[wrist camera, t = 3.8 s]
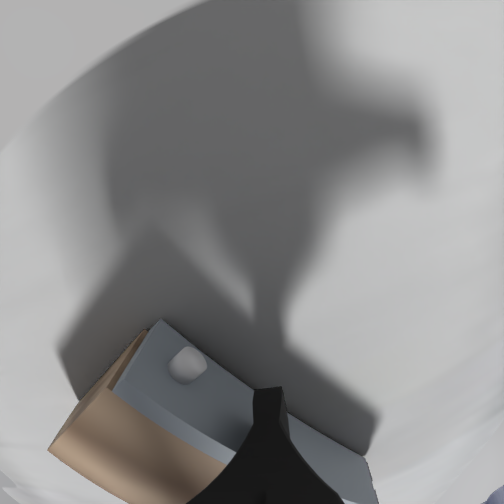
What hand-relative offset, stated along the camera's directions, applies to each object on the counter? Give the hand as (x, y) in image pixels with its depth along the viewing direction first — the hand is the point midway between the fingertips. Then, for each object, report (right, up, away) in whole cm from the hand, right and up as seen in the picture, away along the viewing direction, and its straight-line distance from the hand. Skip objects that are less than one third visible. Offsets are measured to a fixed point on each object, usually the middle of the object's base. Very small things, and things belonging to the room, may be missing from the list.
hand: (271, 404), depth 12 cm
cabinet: (-3, -6, +4) cm, 8 cm away
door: (+1, -2, +3) cm, 4 cm away
